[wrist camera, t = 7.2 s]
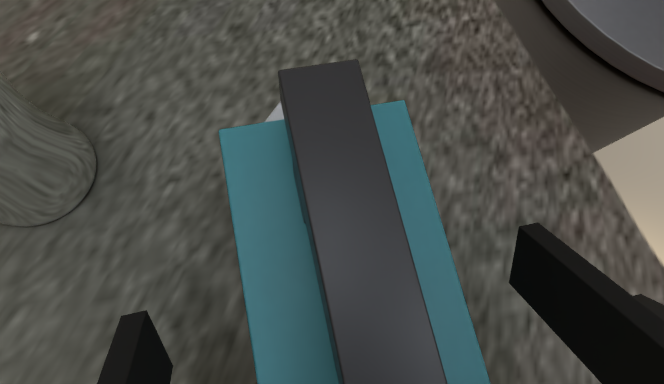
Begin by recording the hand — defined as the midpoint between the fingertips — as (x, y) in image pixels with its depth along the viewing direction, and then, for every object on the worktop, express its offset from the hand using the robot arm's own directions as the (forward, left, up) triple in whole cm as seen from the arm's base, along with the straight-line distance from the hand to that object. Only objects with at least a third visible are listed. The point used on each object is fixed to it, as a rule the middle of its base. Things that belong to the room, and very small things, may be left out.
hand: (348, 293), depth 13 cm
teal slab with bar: (0, -2, -7) cm, 7 cm away
